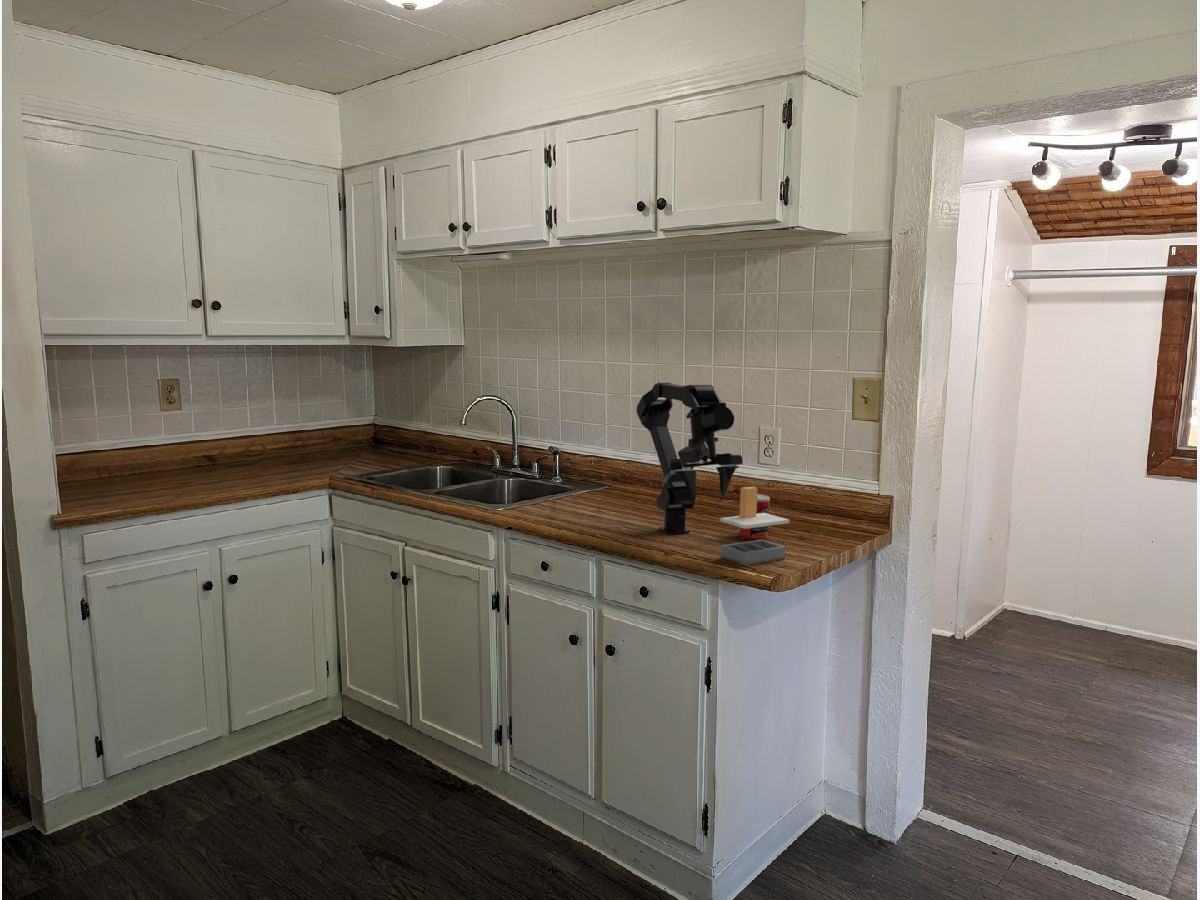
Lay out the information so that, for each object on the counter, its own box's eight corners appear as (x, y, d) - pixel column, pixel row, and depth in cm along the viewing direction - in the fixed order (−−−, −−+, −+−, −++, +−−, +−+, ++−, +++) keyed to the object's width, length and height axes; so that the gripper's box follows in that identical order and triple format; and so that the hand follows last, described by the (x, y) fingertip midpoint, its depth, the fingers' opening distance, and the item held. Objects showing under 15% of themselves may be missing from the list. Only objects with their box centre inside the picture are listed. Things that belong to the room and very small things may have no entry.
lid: (720, 521, 202) (721, 488, 201) (763, 515, 209) (765, 484, 208) (744, 528, 195) (746, 495, 194) (789, 522, 202) (790, 490, 201)
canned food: (753, 542, 219) (755, 500, 218) (731, 536, 226) (733, 495, 224) (774, 538, 224) (776, 497, 222) (752, 532, 230) (754, 492, 229)
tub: (720, 557, 203) (721, 545, 203) (761, 551, 210) (762, 539, 210) (743, 565, 197) (744, 553, 196) (784, 559, 204) (785, 546, 203)
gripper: (653, 437, 215) (658, 500, 214) (715, 429, 202) (720, 495, 201) (680, 438, 223) (685, 498, 222) (741, 430, 211) (746, 493, 210)
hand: (707, 496), depth 214 cm, fingers open, 9 cm apart
